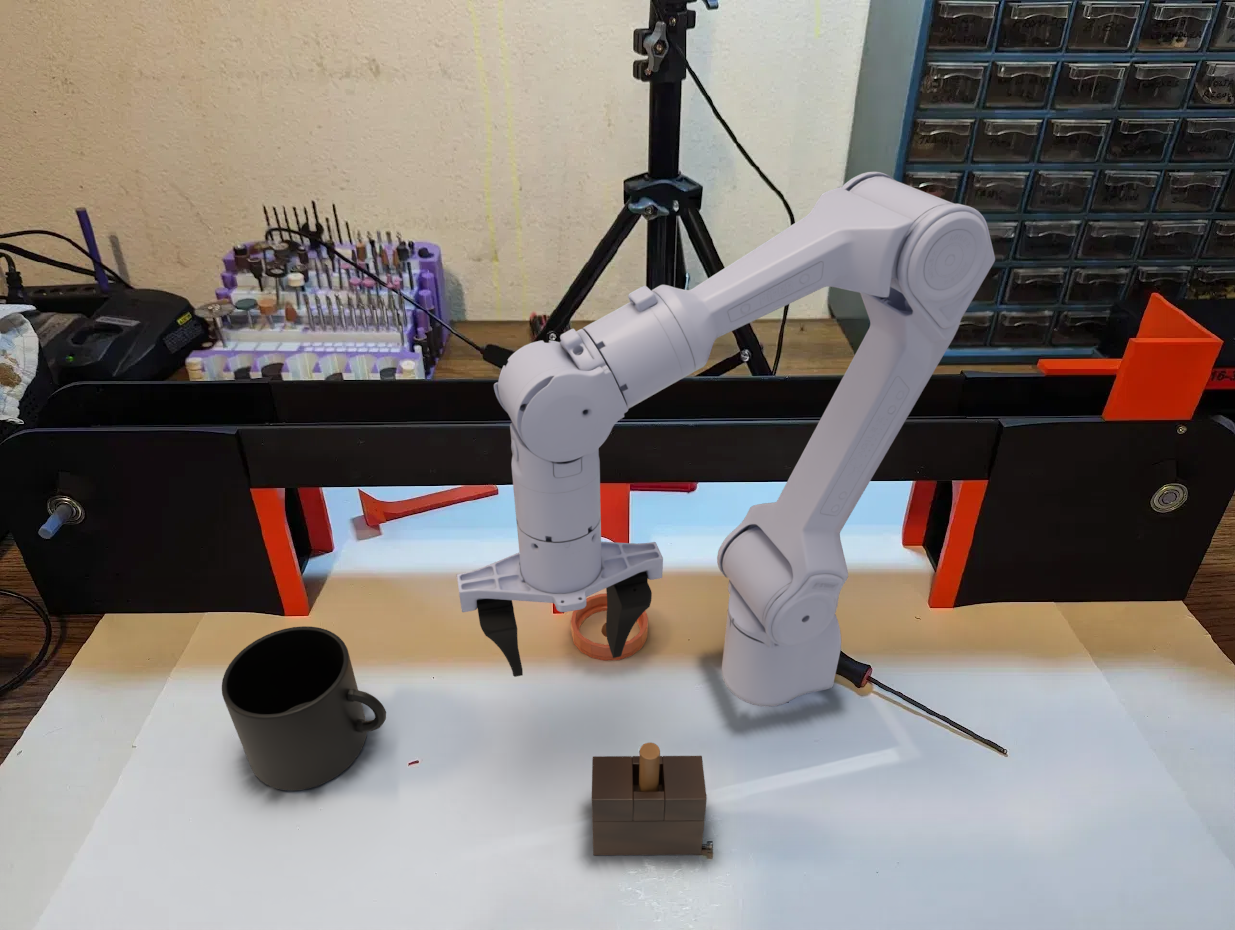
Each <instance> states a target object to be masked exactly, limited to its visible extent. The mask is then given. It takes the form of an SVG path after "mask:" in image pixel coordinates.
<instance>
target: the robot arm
mask: <svg viewBox="0 0 1235 930" xmlns="http://www.w3.org/2000/svg"><path fill="white" fill-rule="evenodd" d="M995 261H996V255H995V251H994V247H993V244H992V239H991V235H990V230H989V227H988V223H987V221H986V219H985V217H984V215H982V213H981V212H980V211H979V210H978V209H975V208H974V207H971V206H970V205H966V204H961V203H954V202H952V201H949V200H946V199H944V198H941V197H938V196H936V195H934V194H931V193H929V192H925V191H923V190H921V189H919V188H915V187H914V186H911V185H909V184H906V183H903V182H900V181H898V180H896V179H895V178H893V177H892V176H891V175H889V174H886V173H884V172H881V171H866V172H863V173H860V174H858V175H856V176H854V177H852V178H850V179H849V180H848V181H847V182H845V183H844V184H843V185H842V186H841V187H840V186H838V187H836V188H832V189H830V190H827V191H825V192H823V193H822V194H821V195H820V196H819V197H818V198H817V200H816V202H815V204H814V205H813V207H812V209H811V210H810V212H809V213H807V214H806V215H805V216H804V217H802V218H800V219H799V220H797V221H796V222H795V223H793V224H791V225H789V226H788V227H786V228H784V229H783V230H782V231H780V232H779V233H777V234H776V235H774V236H772V237H771V238H769V239H768V240H767V241H765V242H763V243H761V244H760V245H758V246H757V247H755V248H754V249H752V250H751V251H749V252H747V253H745V254H744V255H742V256H741V257H739V258H738V259H736V260H735V261H733V262H732V263H730V264H729V265H727V266H725V267H723V269H721V270H719V271H718V272H716V273H715V274H713V275H712V276H710V277H708V278H706V279H705V280H704V281H702V282H700V283H699V284H697V285H695V286H694V287H693V288H691V289H684V288H683V289H682V288H679V287H674V286H671V285H668V284H660V285H658V286H656V287H655V288H653V289H650V288H649V287H648V286H647V285H642V286H640V287H639V288H637V289H635V290H633V291H631V292H630V293H628V295H627V298H628V300H629V302H627V303H625V304H623V305H622V306H620V307H618V308H616V309H614V310H613V311H611V312H609V313H608V314H605V315H603V316H602V317H600V318H598V319H596V320H594V321H593V322H591V323H589V324H587V325H586V326H584V327H582V328H580V329H578V330H576V329H575V328H571V329H569V330H567V331H565V332H563V333H561V334H560V336H559V338H560V341H556V340H552V339H551V340H550V339H549V340H548V342H545V341H544V340H543V339H542V340H538V341H533V342H530V343H527V344H525V345H523V346H521V347H520V348H518V349H517V350H516V351H515V352H513V353H512V354H511V355H510V356H509V357H508V359H507V363H506V365H502V368H501V371H500V373H499V376H498V380H497V382H495V383H494V384H493V390H494V393H495V397H496V399H497V402H498V403H499V404H500V406H501V407H502V409H503V410H504V411H505V412H506V413H507V414H508V415H507V416H508V417H509V418H510V420H511V422H510V424H509V430H510V440H511V442H510V443H511V444H510V449H511V450H510V451H511V453H512V456H511V476H512V487H513V499H514V510H515V520H516V532H517V540H518V541H517V542H518V552H517V553H514V554H512V555H509V556H506V557H504V558H502V559H499V560H497V561H495V562H493V563H490V564H487V565H485V566H482V567H479V568H477V569H473V570H469V571H465V572H461V573H457V574H456V580H457V581H456V582H457V588H458V596H459V603H460V609H461V613H467V612H473V611H476V610H477V615H478V620H479V625H480V629H481V630H482V632H483V634H484V636H485V637H487V638H488V639H490V640H491V641H492V642H493V643H494V644H495V645H496V646H497V647H498V648H499V650H500V651H501V652H502V654H503V656H504V657H505V659H506V660H507V662H508V664H509V667H510V670H511V672H512V676H513V677H514V678H516V677H521V676H523V675H524V674H523V673H524V672H523V665H522V660H521V655H520V651H519V645H518V644H519V639H518V625H517V621H516V616H515V611H514V609H515V608H514V603H513V601H519V602H533V603H545V604H547V603H549V604H554V605H555V609H556V611H558V612H559V613H568V612H573V611H574V610H580V609H583V608H585V607H586V599H587V598H589V597H591V596H593V594H594V595H595V594H596V593H599V592H601V591H603V590H606V591H605V593H607V611H606V617H605V618H606V621H605V623H606V634H607V637H606V641H607V645H609V647H610V650H611V653H612V656H613V658H616V657H621V655H622V652H623V648H624V645H625V643H626V641H628V638H629V636H630V633H631V631H632V629H633V627H634V626H635V624H636V623H637V622H636V621H637V619H638V618H639V617H640V616H641V614H642V613H643V612H644V611H647V610H648V609H649V608H650V607H651V602H652V599H653V597H652V596H653V595H652V594H653V592H652V589H651V587H650V584H649V581H654V580H660V579H663V572H664V557H663V555H662V553H661V550H660V548H659V546H658V544H657V542H656V541H650V542H641V543H640V542H639V543H633V542H631V543H630V542H618V541H617V542H615V541H602V520H601V519H602V514H601V461H600V451H599V448H601V446H602V445H603V444H604V443H606V441H607V439H608V438H609V435H610V434H611V432H612V430H613V428H614V426H615V425H616V424H617V422H618V421H620V420H622V419H623V418H625V414H626V413H627V412H628V411H629V409H631V408H633V407H635V406H636V405H638V404H639V403H642V402H643V401H645V400H647V399H648V398H651V397H652V396H653V395H657V393H659V392H661V391H662V390H663V391H664V390H665V389H666V388H668V387H670V386H671V385H673V384H676V383H677V382H679V381H680V380H683V379H684V378H686V377H688V376H690V375H691V374H693V373H695V372H697V371H698V370H700V369H702V368H704V367H705V366H706V365H707V363H708V361H709V358H710V355H711V353H712V349H713V346H714V344H715V341H716V340H717V339H718V338H721V337H722V336H724V335H726V334H728V333H731V332H733V331H735V330H737V329H739V328H742V327H744V326H745V325H748V324H750V323H752V322H754V321H756V320H758V319H760V318H763V317H765V316H767V315H769V314H771V313H773V312H775V311H778V310H779V309H781V308H784V307H786V306H788V305H790V304H792V303H794V302H797V301H798V300H801V299H803V298H805V297H807V296H809V295H811V294H813V293H815V292H817V291H819V290H821V289H824V288H828V287H831V288H836V289H841V290H846V291H850V292H855V293H859V294H860V297H861V299H862V302H863V305H864V308H865V311H866V314H867V316H868V320H869V323H870V324H869V328H868V330H867V331H866V333H865V335H864V337H863V339H862V341H861V343H860V345H859V347H858V349H857V350H856V352H855V354H854V356H853V358H852V360H851V362H850V363H849V365H848V367H847V369H846V370H845V373H844V374H843V376H842V378H841V380H840V382H839V384H838V386H837V388H836V389H835V391H834V393H833V395H832V397H831V399H830V401H829V402H828V404H827V406H826V408H825V410H824V412H823V413H822V416H821V418H820V419H819V421H818V423H817V425H816V427H815V428H814V430H813V433H812V435H811V437H810V438H809V439H808V442H807V444H806V445H805V448H804V450H803V451H802V453H801V455H800V457H799V459H798V461H797V463H796V464H795V466H794V468H793V470H792V472H791V474H790V475H789V476H788V477H789V478H788V479H787V481H786V483H785V485H784V487H783V489H782V490H781V493H780V494H779V496H778V498H777V500H776V501H774V502H765V503H764V502H763V503H758V504H754V505H752V506H750V507H749V509H748V511H747V513H746V515H745V517H744V518H743V520H742V521H741V522H740V524H739V525H738V526H737V527H735V528H734V529H733V530H732V531H730V532H729V534H728V535H727V536H726V537H725V539H723V541H722V543H721V545H720V546H719V548H718V552H717V556H716V559H717V560H716V561H717V562H716V563H717V567H718V569H719V571H720V573H721V574H722V575H723V576H724V577H725V578H726V579H728V585H727V586H728V587H727V592H728V593H729V596H728V602H727V603H728V605H727V614H726V625H725V633H724V644H723V652H722V663H721V677H722V680H723V682H724V684H725V686H726V687H727V689H728V690H729V691H730V692H731V693H732V694H733V695H734V696H735V697H736V698H738V699H740V700H742V701H744V702H745V703H748V704H750V705H754V706H759V707H778V706H782V705H784V704H787V703H789V702H791V701H793V700H794V699H796V698H798V697H800V696H801V697H802V696H804V695H807V694H811V693H815V692H821V691H825V690H829V689H832V688H834V683H835V679H836V674H837V669H838V664H839V660H840V654H841V652H842V651H841V650H842V635H841V627H840V624H839V620H838V617H837V615H836V613H837V609H838V607H839V597H840V594H841V590H842V589H843V587H844V585H845V583H846V582H847V580H848V578H849V572H848V566H847V562H846V557H845V554H844V549H843V544H842V540H841V532H842V530H843V528H844V526H845V525H846V523H847V521H848V520H849V518H850V516H851V514H852V513H853V511H854V510H855V507H856V506H857V504H858V503H859V501H860V499H861V498H862V495H863V494H864V492H865V491H866V489H867V487H868V486H869V484H870V482H871V481H872V479H873V477H874V475H875V473H876V472H877V470H878V469H879V467H880V465H881V463H882V462H883V460H884V458H885V456H886V455H887V454H888V452H889V449H890V447H891V446H892V444H893V443H894V441H895V439H896V438H897V436H898V434H899V432H900V430H901V429H902V427H903V426H904V424H905V422H906V420H907V419H908V417H909V415H910V414H911V412H912V411H913V408H914V407H915V405H916V403H917V401H918V400H919V398H920V396H921V395H922V392H923V391H924V390H925V387H926V386H927V384H928V383H929V381H930V379H931V377H932V375H933V374H934V373H935V370H936V369H937V368H938V365H939V364H940V362H941V360H942V358H943V356H944V355H945V353H946V351H947V350H948V348H949V346H950V345H951V343H952V342H953V340H954V338H955V336H956V334H957V332H958V330H959V327H960V324H961V321H962V319H963V316H964V315H965V314H966V312H967V309H968V308H969V306H970V304H971V303H972V301H973V299H974V298H975V296H976V294H977V292H978V291H979V289H980V287H981V286H982V284H983V282H984V280H985V279H986V277H987V275H988V274H989V272H990V270H991V268H992V267H993V265H994V263H995ZM648 580H649V581H648Z"/></svg>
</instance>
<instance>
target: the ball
mask: <svg viewBox="0 0 1235 930" xmlns="http://www.w3.org/2000/svg"><path fill="white" fill-rule="evenodd" d="M601 634H602V635H603V636H604V637H606V638H607V634H606V622H604V624H603V625H602V627H601Z"/></svg>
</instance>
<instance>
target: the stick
mask: <svg viewBox="0 0 1235 930" xmlns="http://www.w3.org/2000/svg"><path fill="white" fill-rule="evenodd" d="M639 756H640V762H639V792H641V791H658V787H659V764H660V756H661V750H660V747H659V746H658V745H657V744H656V743H654V742H645V743H643V744H642V745H641V746H640V748H639Z"/></svg>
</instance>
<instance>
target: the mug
mask: <svg viewBox="0 0 1235 930" xmlns="http://www.w3.org/2000/svg"><path fill="white" fill-rule="evenodd" d="M222 677H223V678H222V681H221V695H222V696H221V697H222V698H223V701H224V703H225V706H226V709H227V711H228V714H229V716H230V719H231V721H232V723H233V726H234V729H235V731H236V734H237V736H238V738H239V741H240V744H241V746H242V749H243V751H244V753H245V756H246V758H247V761H248V764H249V766H250V768H251V771H252V773H253V774H254V775H255V777H256V778H257V779H258V780H259V781H261V783H264V784H265V785H266V786H269V787H271V788H274V789H277V790H282V791H303V790H308V789H312V788H316V787H318V786H321V785H323V784H325V783H328V782H330V781H331V780H333V779H335V778H336V777H338V776H340V775H341V774H342V773H343V772H345V770H347V769H348V768H349V767H350V766H351V765H352V764H353V763H354V762H355V760H356V759H357V757H358V756H359V754H360V753H361V752H362V749H363V747H364V745H365V741H366V739H367V734H368V732H373V731H375V730H378V729H379V728H381V727H382V726H383V724H384V723H385V721H386V719H387V711H386V708H385V706H384V705H383V703H381V701H380V700H379V699H378V698H377V697H375V696H373V695H372V694H370V693H368V692H366V691H363V690H359V688H358V687H359V686H358V684H357V681H356V680H357V679H356V677H355V672H354V668H353V665H352V661H351V657H350V653H349V649H348V647H347V645H346V644H345V642H344V640H342V638H341V637H340V636H339V635H337V634H335V633H334V632H332V631H331V630H328V629H325V628H322V627H317V626H308V625H307V626H292V627H288V628H283V629H279V630H276V631H273V632H271V633H267V634H265V635H264V636H261V637H260V638H258V639H256V640H255V641H253V642H251V643H250V644H248V645H247V646H246V647H244V648H243V649H242V650H240V652H238V654H237V655H235V656H234V658H233V659H232V660H231V662H230V663H229V664H228V666H227V668H226V670H225V671H224V674H223V676H222ZM363 705H365V706H367V707H368V708H370V709H371V711H372V713H373V714H374V718H373V719H369V720H367V718H366V714H365V711H364V706H363Z"/></svg>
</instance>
